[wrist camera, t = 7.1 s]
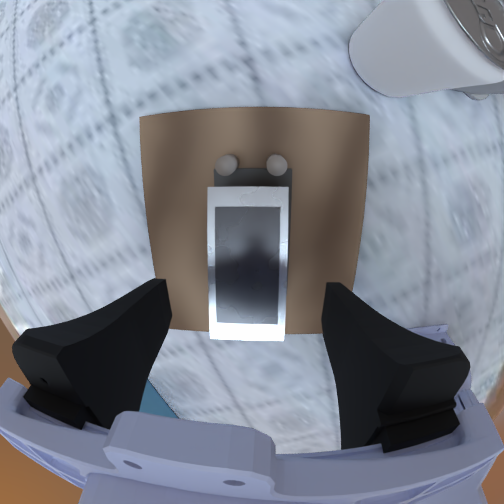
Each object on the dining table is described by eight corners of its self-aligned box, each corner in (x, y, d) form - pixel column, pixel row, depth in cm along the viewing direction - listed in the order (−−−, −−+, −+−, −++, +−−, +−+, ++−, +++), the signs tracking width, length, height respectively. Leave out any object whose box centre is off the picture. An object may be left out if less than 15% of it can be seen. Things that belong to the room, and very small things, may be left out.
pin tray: (364, 115, 17) (383, 112, 13) (341, 325, 24) (349, 351, 21) (145, 117, 17) (123, 115, 14) (169, 322, 25) (157, 346, 21)
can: (357, 99, 16) (461, 67, 5) (337, 23, 14) (401, -64, 3) (428, 99, 15) (544, 94, 4) (410, 28, 13) (502, -20, 2)
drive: (282, 195, 18) (288, 186, 13) (279, 310, 19) (284, 341, 14) (222, 194, 18) (207, 186, 13) (223, 309, 19) (209, 339, 14)
